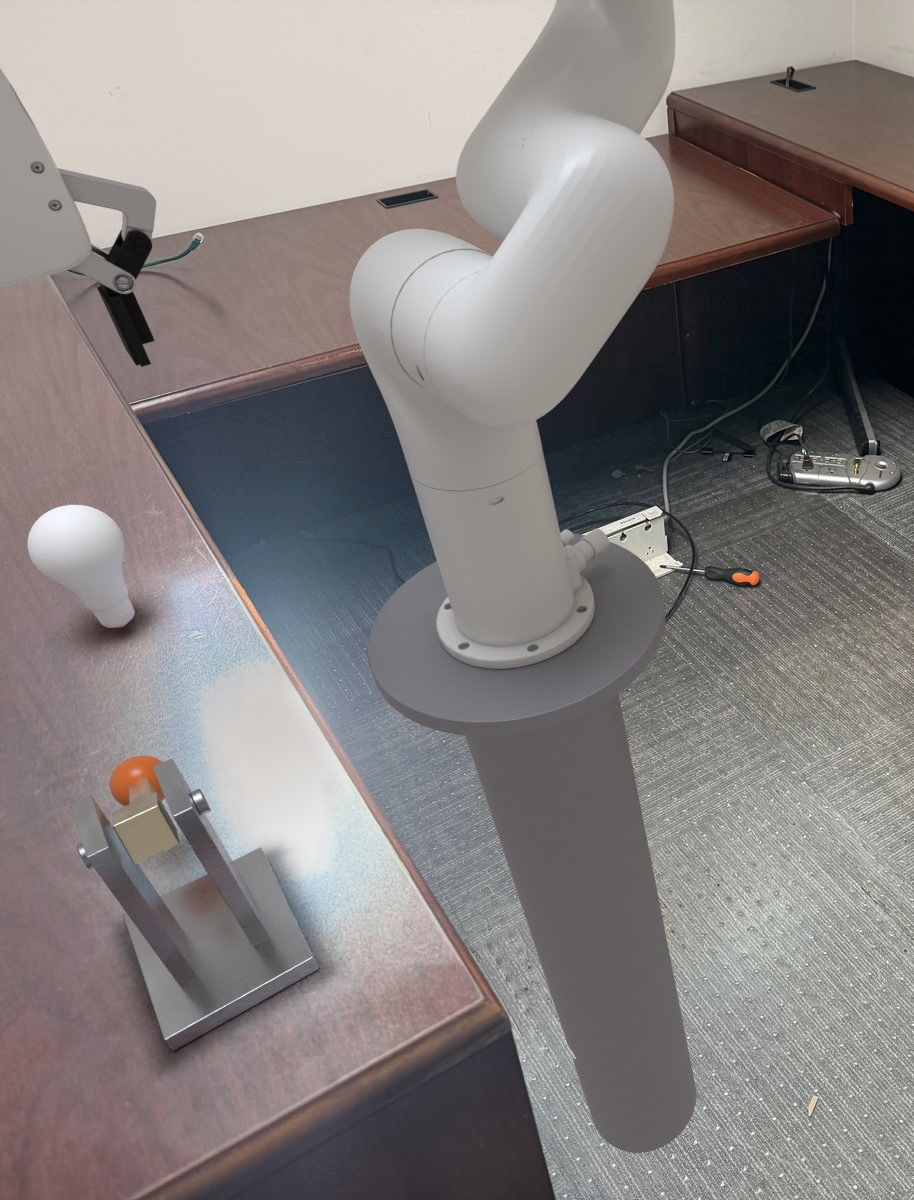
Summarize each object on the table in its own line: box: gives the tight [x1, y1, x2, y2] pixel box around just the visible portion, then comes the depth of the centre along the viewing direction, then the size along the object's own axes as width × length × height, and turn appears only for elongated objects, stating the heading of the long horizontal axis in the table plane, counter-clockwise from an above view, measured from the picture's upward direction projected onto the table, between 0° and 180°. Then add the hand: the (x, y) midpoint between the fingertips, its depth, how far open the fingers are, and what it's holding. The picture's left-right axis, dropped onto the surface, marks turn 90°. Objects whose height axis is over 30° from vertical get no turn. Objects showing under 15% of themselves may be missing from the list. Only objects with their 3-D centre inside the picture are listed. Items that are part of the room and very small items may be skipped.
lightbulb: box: [27, 504, 136, 629], centre depth 84 cm, size 6×6×11 cm
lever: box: [109, 754, 180, 865], centre depth 61 cm, size 13×3×3 cm, turn 36°
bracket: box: [69, 758, 320, 1052], centre depth 60 cm, size 10×8×13 cm
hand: (43, 385), depth 59 cm, fingers open, 9 cm apart
